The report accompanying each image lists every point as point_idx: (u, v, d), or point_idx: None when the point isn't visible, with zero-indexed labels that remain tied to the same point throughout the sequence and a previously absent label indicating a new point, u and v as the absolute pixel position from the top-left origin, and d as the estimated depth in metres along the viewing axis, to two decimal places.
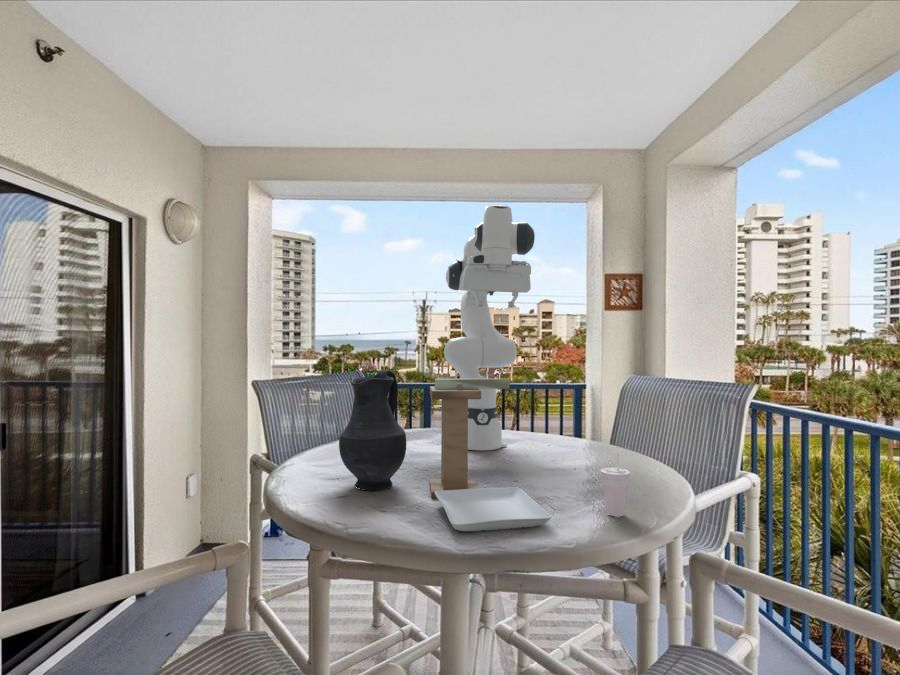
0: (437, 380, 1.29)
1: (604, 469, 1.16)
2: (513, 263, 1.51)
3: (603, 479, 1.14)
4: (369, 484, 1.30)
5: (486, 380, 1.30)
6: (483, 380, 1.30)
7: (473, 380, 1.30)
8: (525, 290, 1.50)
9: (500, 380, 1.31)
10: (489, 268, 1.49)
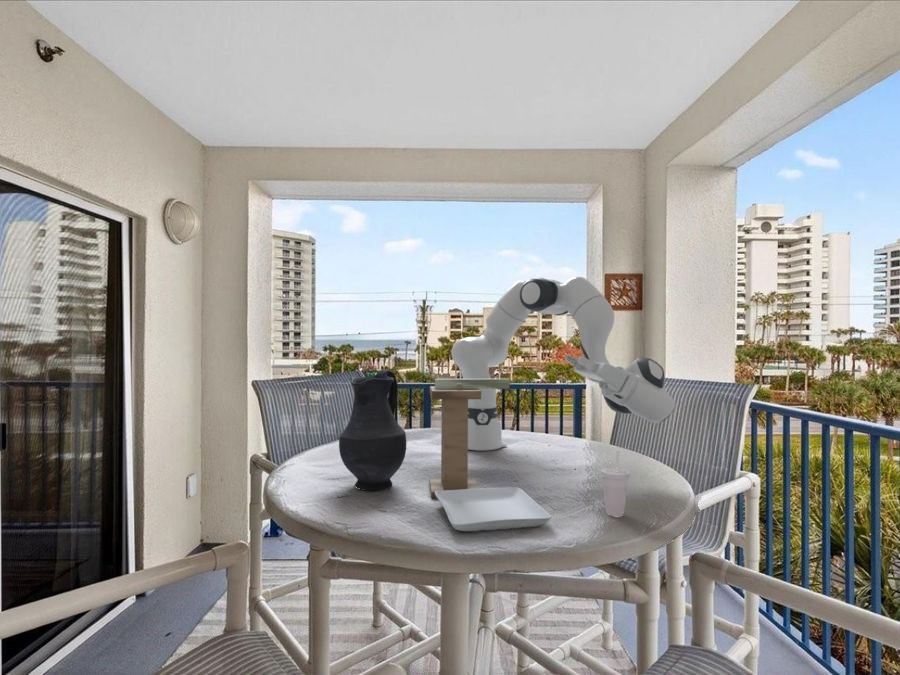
0: (437, 380, 1.29)
1: (604, 469, 1.15)
2: None
3: (603, 479, 1.14)
4: (369, 484, 1.30)
5: (486, 380, 1.30)
6: (483, 380, 1.30)
7: (473, 380, 1.30)
8: (574, 370, 1.42)
9: (500, 380, 1.31)
10: (608, 386, 1.32)
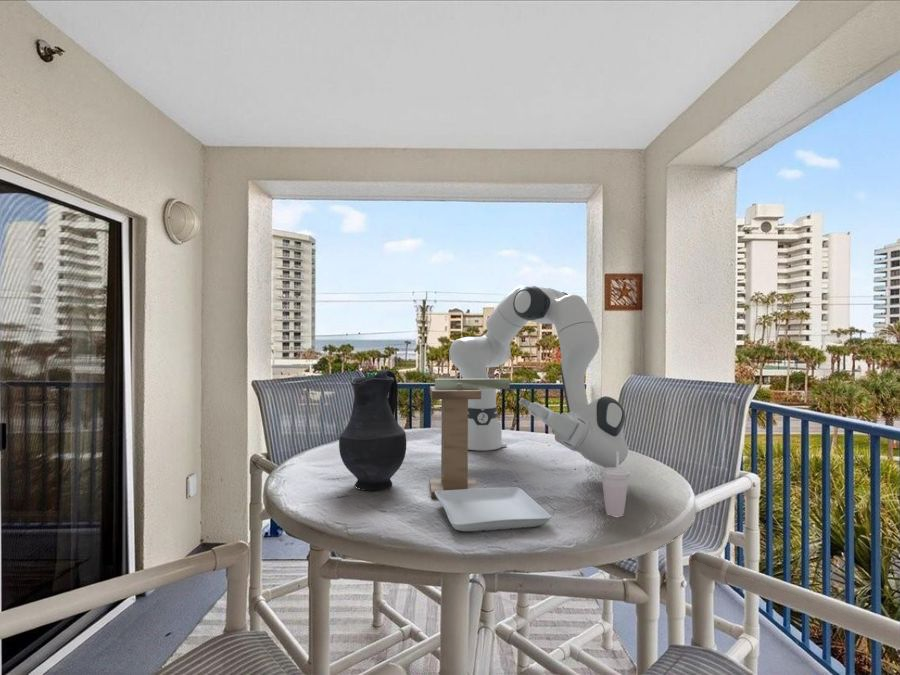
0: (437, 380, 1.29)
1: (604, 469, 1.15)
2: None
3: (603, 479, 1.14)
4: (369, 484, 1.30)
5: (486, 380, 1.30)
6: (483, 380, 1.30)
7: (473, 380, 1.30)
8: None
9: (500, 380, 1.31)
10: None
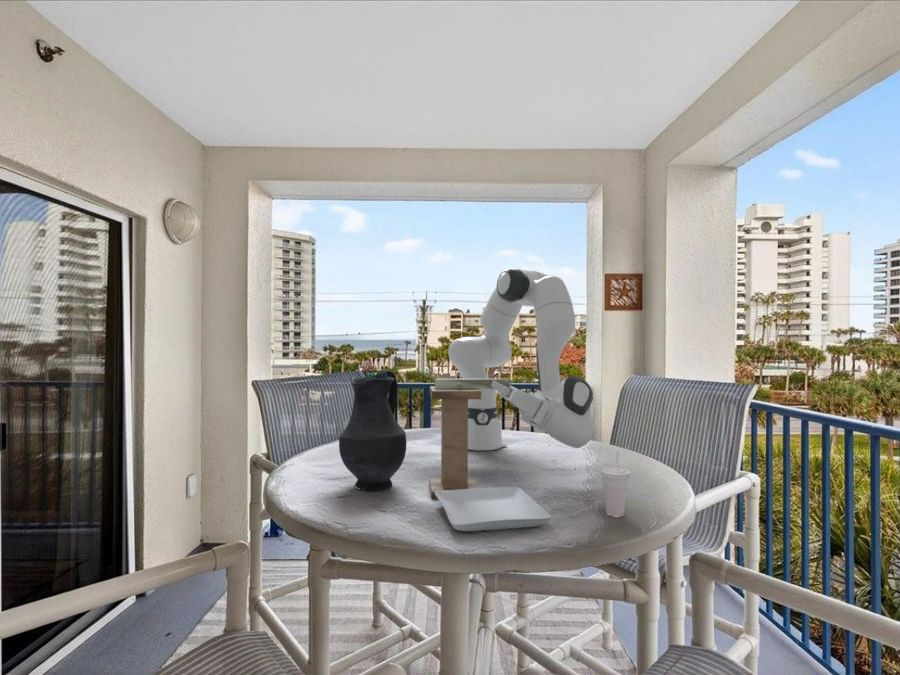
0: (437, 380, 1.29)
1: (604, 469, 1.16)
2: None
3: (603, 479, 1.14)
4: (369, 484, 1.30)
5: (486, 380, 1.30)
6: (482, 380, 1.30)
7: (473, 380, 1.30)
8: (498, 393, 1.41)
9: (500, 380, 1.31)
10: None
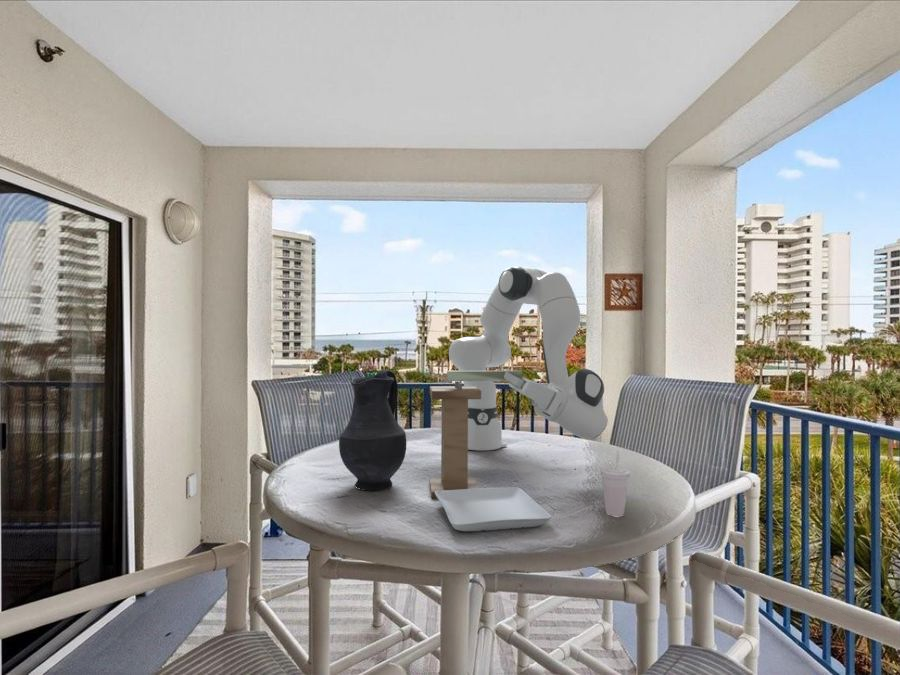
0: (450, 372, 1.30)
1: (604, 469, 1.15)
2: None
3: (603, 479, 1.14)
4: (369, 484, 1.30)
5: (499, 372, 1.31)
6: (495, 372, 1.31)
7: (486, 372, 1.30)
8: None
9: (513, 372, 1.31)
10: None
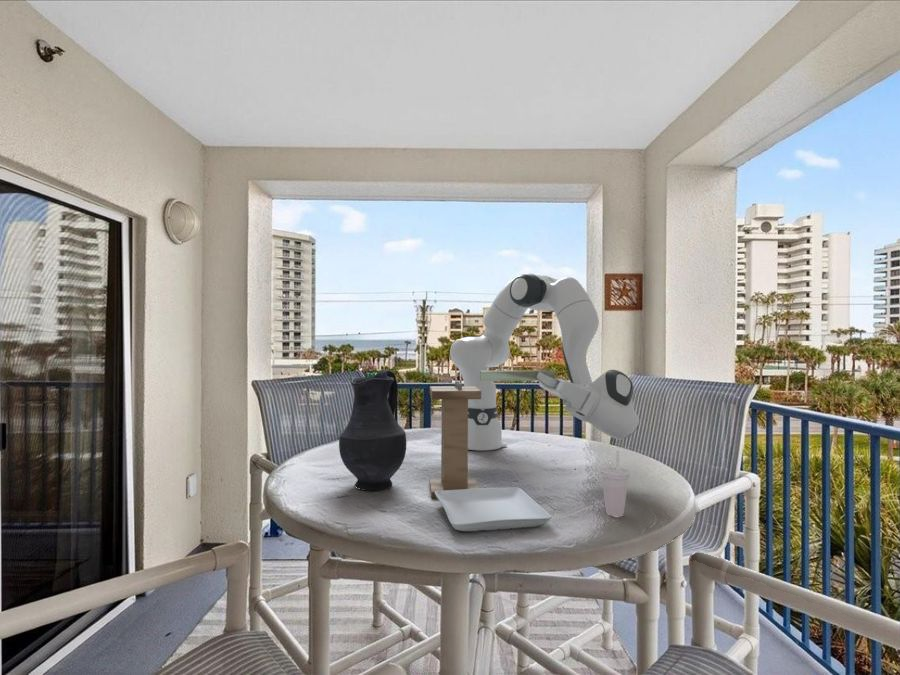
0: (483, 372, 1.30)
1: (604, 469, 1.15)
2: None
3: (603, 479, 1.14)
4: (369, 484, 1.30)
5: (531, 372, 1.31)
6: (528, 372, 1.31)
7: (519, 372, 1.31)
8: (540, 386, 1.41)
9: (545, 372, 1.32)
10: (570, 402, 1.31)
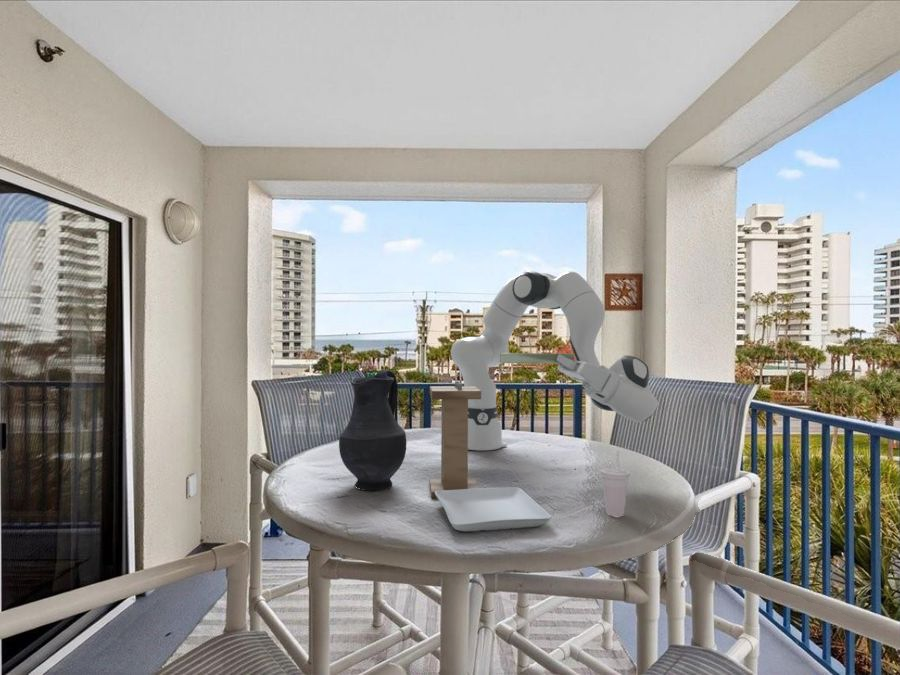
0: (503, 354, 1.31)
1: (604, 469, 1.15)
2: None
3: (603, 479, 1.14)
4: (369, 484, 1.30)
5: (551, 354, 1.32)
6: (548, 354, 1.32)
7: (539, 354, 1.32)
8: (558, 369, 1.42)
9: (565, 354, 1.32)
10: (590, 385, 1.31)
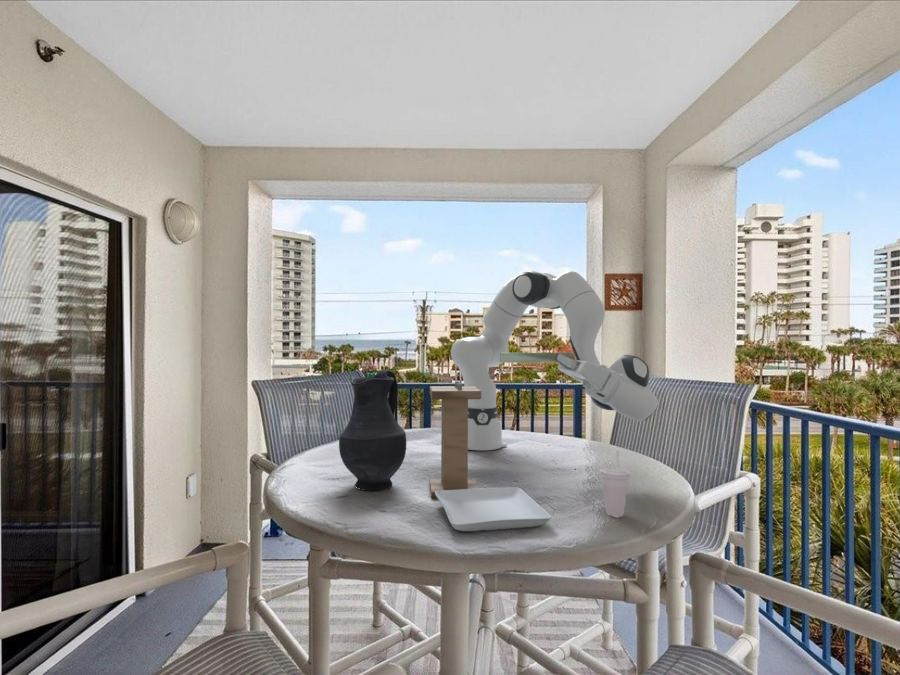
0: (504, 354, 1.31)
1: (604, 469, 1.16)
2: None
3: (603, 479, 1.14)
4: (369, 484, 1.30)
5: (552, 354, 1.32)
6: (548, 353, 1.32)
7: (539, 354, 1.32)
8: None
9: (565, 354, 1.32)
10: (590, 384, 1.31)
